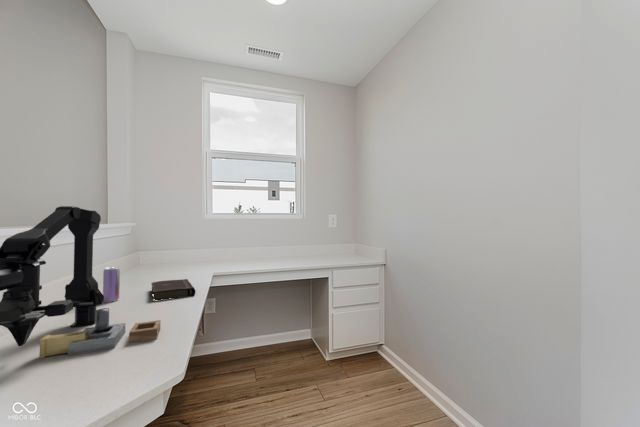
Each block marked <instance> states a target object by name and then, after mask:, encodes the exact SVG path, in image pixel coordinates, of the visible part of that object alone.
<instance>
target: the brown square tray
mask: <svg viewBox="0 0 640 427" xmlns="http://www.w3.org/2000/svg"><path fill="white" fill-rule="evenodd" d="M160 331H161V319H159V320H158V319H157V320H150V321H143V322H138V323H137V322H136V323H134V324H133V326H132V328H131V329H130V331H129V333H128V342H129V344H133V343H139V342H145V341H150V340H151V341H152V340H157V339H158V337H159V334H160Z"/></svg>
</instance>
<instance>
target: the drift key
mask: <svg viewBox="0 0 640 427" xmlns="http://www.w3.org/2000/svg"><path fill="white" fill-rule="evenodd" d="M84 340H88V331H83V330H82V331H75V332H68V333H60V334H46V335H44V336H43V337H42V338H40V339H39V356H38V358H39V359H45V358H46V357H47V356H48V357H49V356H54V355H60V354H61V355H62V354H66V353H67V354H68V350H69V343H70V342H77V341H84Z"/></svg>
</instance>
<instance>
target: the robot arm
mask: <svg viewBox="0 0 640 427" xmlns="http://www.w3.org/2000/svg"><path fill="white" fill-rule="evenodd" d="M101 220H102V218H101V214H99V213H98V212H97V211H96V210H89V209H85V208H80V207H78V206H74V205H72V206H71V205H70V206H69V205H67V206H65V205H62V206H61V205H60V206H57V207H56V208H55V210H54V211H53V212H51V214H49V215H48V216H46V217H45V218H44V219H42V220H41V221H40V222H38V223H37V224H36V225H35V226H34V227H32V228H30V229H29V230H25V231H22V232H18V233H16V234H14V235H12V236H10V237H8V238H6V239H5V240H4V241H3V242H2V244H1V246H0V292H1V291H2V292H3V293H2V297H1V300H0V326H2V327H4V328H6V329H7V330H8V331H9V332H10V334H11V335H12V337H13V339H14V341H15V343H16V344H17V346H18V347H22V346H24V345H26V343H27V341H28V340H29V337H30V336H31V334H32V332H33V330H34V328H35V327H36V325H38V324H37V323H38V322H39V320H40V319H42V318H44V317H45V316H46V317H48V318H49V317H51V318H52V317H58V316H59V317H60V316H65V315H67V314H68V313H70V312H72V310H74V322H72V323H71V325H69V327H70V328H73V327H83V326H90V325H95V316H96V310H97V307H98V306H100V305H103V303H104V302H103V301H104V296H103V292H101V290H100V289H99V283H98V281H97V280H96V279H95V277H94V276H93V259H94V258H93V255H94V254H93V253H94V235H95V234H96V232H97V231H98V230H99V229H100V223H101ZM65 227H68V230H69V231H70V233H71V234H72V235H73V238H74V242H73V244H74V245H73V276H72V277H73V278H72V280H71V281H70V282H69V283H68V284H66V285H65V287H64V291H65V293H64V299H65V300H63V299H62V300H54V301H52V302H50V303H49V304H47V305H42V300H40V290H42V289H43V285H42V284H41V285H40V283H41V282H40V281H41V280H40V279H41V266H42V265H47V264H46V263H47V262H46V260H44V259H42V258H41V257H43V256H44V255H45V254H46V252H47V251H48V250H49V249H50V247H51V240H52V239H53V238H54V237H55V236H56V235H58V234H59V233H60V232H61V231H62V230H63V229H65Z"/></svg>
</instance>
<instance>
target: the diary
mask: <svg viewBox="0 0 640 427" xmlns="http://www.w3.org/2000/svg"><path fill="white" fill-rule="evenodd" d="M151 289H152V291H151V290H149V291H150V292H149V293H150V294H151V295H152V294H154V299H155V300H161V299H168V300H170V299H169V298H175V299H179V298H183V297H184V298H186V297H190V296H191V295H192V296H195V295H196V289H195V287H194V286H193V285H192V284H191V282H190V281H189V279H188V278H183V279H170V280H168V279H167V280H160V281H153V282H151ZM161 301H162V300H161Z"/></svg>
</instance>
